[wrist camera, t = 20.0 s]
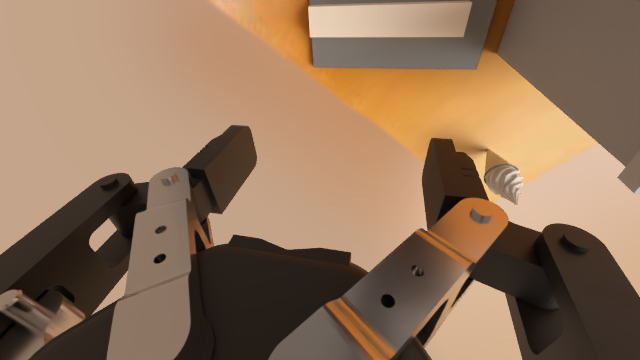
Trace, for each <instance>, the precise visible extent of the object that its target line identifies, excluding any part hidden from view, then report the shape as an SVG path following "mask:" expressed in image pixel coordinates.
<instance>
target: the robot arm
mask: <svg viewBox="0 0 640 360" xmlns="http://www.w3.org/2000/svg"><path fill="white" fill-rule="evenodd" d="M256 161H257V155H256V150H255V146H254V142H253V138H252V133H251V130H250V128H249V127H248V126H239V125H231V126H230V127H229V128H228V129H227V130H226V131H225V132H224V133H223V134H222V135H220V136H218V137H216V138H214V139H213V140H211V141H210V142H209V143H208V144H207V145H206V146H205V147H204V148H203V149H202V150H200V152H199V153H197V154H196V155H195V156H194V157H193V158H192V159H191V160H190V161H189V162H188V163H187V164H186V165H185V166H183V167H182V168H180V167H175V168H169V169H166V170H163V171H161V172H159V173H157V174H156V175H154V176H153V177H152V178H151V180H150V181H149V182H145V183H136V184H134V182H133V181H132V179H131V177H130V176H129V175H128V174H125V173H117V174H112V175H108V176H106V177H103V178H101V179H99V180H98V181H96V182H95V183H93V184H92V185H91V186H89V187H88V188H87V189H85V190H84V191H83V192H81V193H80V194H79V195H78V196H77V197H75V198H74V199H72V200H71V201H70V202H68V203H67V204H66V205H65V206H63V207H62V208H61V209H59V210H58V211H57V212H55V213H54V214H53V215H52V216H50V217H49V218H48V219H46V220H45V221H44V222H42V223H41V224H40V225H39V226H37V227H36V228H35V229H33V230H32V231H31V232H29V233H28V234H27V235H26V236H24V237H23V238H22V239H20V240H19V241H18V242H16V243H15V244H14V245H13V246H11V247H10V248H9V249H8V250H6V251H5V252H3V253H2V254H1V255H0V360H432V359H431V358H430V356H429V355H428V354H427V352H426V350H425V349H424V348H425V347H426V345H427V344H428V343H429V341H430V340H431V339H432V338H433V336H434V335H435V334H436V332H437V331H438V329H439V328H440V326H441V325H442V323H443V322H444V320H445V319H446V317H447V316H448V315H449V313H450V312H451V311H452V310H453V308H454V307H455V306H456V304H457V303H458V302H459V301H460V299H461V298H462V297H463V296H464V294H465V293H466V291H467V290H468V289H469V288H470V287H471V285H472V284H473V283H474V282H475V280H476V281H478V282H481V283H483V284H486V285H488V286H490V287H493V288H495V289H497V290H500V291H502V292H504V293H505V295H506V298H507V302H508V306H509V310H510V313H511V317H512V321H513V325H514V329H515V333H516V336H517V340H518V344H519V348H520V351H521V355H522V359H523V360H640V297H639V295H638V294H637V293H636V291H635V289H634V288H633V286H632V285H631V284H630V282H629V281H628V279H627V277H626V276H625V274H624V273H623V271H622V270H621V268H620V267H619V265H618V264H617V262H616V261H615V259H614V258H613V256H612V255H611V253H610V252H609V250H608V249H607V247H606V246H605V245H604V244H603V243H602V242H601V241H600V240H599V239H597V238H596V237H595V236H593V235H592V234H590V233H588V232H587V231H584V230H582V229H580V228H577V227H575V226H571V225H566V224H550V225H548V226H546V227H545V228H544V230H543V231H542V232H538V231H535V230H532V229H529V228H525V227H523V226H519V225H517V224H514V223H512V222H510V221H508V216H507V214H506V213H505V212H504V210H503V209H501V208H500V207H499V206H498V205H496V204H494V203H492V202H490V201H489V199H488V197H487V194H486V192H485V189H484V187H483V184H482V182H481V179H480V178H479V174H478V172H477V171H476V166H475V164H474V161H473V160H472V159H471V158H470V157H469V156H468V155H467V154H465V153H464V152H456V150H455V147H454V144H453V141H452V139H439V138H432V139H431V140H430V144H429V148H428V152H427V156H426V160H425V165H424V169H423V175H422V187H423V195H424V203H425V212H426V221H427V228H428V231H425V230H424V229H422V228H421V229H418V230H417V231H415V232H414V233H413V234H412V235H411V236H410V237H409V238H407V239H406V240H405V241H404V242H403V243H402V244H400V245H399V246H398V247H397V248H396V249H395V250H394V251H393V252H391V253H390V254H389V255H388V256H387V257H386V258H385V259H383V260H382V261H381V262H380V263H379V264H378V265H377V266H376V267H374V268H373V269H372V270H371V271H370V272H367V271H366V270H364V269H363V268H361V267H359V266H358V265H355V264H353V263H351V253H350V252H344V251H337V250H331V249H324V248H311V249H294V250H287V249H284V248H281V247H279V246H277V245H274V244H272V243H269V242H267V241H265V240H263V239H259V238H253V237H246V236H239V235H233V237H232V239H231V240H230V242H229V243H228V244H222V245H217V246H214V243H213V238H212V232H211V226H210V221H209V218H208V215H209V213H218V214H222V213H223V211H224V210H225V209H226V207H227V206H228V204H229V203H230V202H231V200H232V199H233V197H234V196H235V194H236V193H237V192H238V190H239V189H240V187H241V186H242V185H243V183H244V182H245V180H246V179H247V177H248V176H249V175H250V173H251V172H252V170H253V169H254V167H255V165H256ZM108 218H109V219H110V220H111V222H112V223H113V224H114V225H115V227H116V228H117V229H118V230H117V231H116V232H115V233H114V234H113V235H112V236H111V237H110V238H109V239H108V240H107V241H106V242H105V243H104V244H103V245H102V246H101V247H100V248H99V249H98V250H97V251H96V252H94V251H93V250H92V248H91V247H90V245H89V239H90V236H91V235H92V233H93V232H94V231H95V230H96V229H97V228H98V227H100V226H101V225H102V224H103V223H104V222H105V221H106V220H107V219H108ZM127 271H128V275H127V282H126V289H125V294H124V296H123V297H122V298H120V299H118V300H117V301H115V302H114V303H112V304H110V305H108V306H107V307H105V308H103V309H102V310H100V311H98V312H96V313H95V314H93V315H92V313H93V312H94V311H95V310H96V309H97V307H98V306H99V305H100V303H101V302H102V301H103V300H104V299H105V298H106V296H107V295H108V294H109V292H110V291H111V290H112V289H113V288H114V286H115V285H116V284H117V283H118V282H119V280H120V279H121V278H122V277H123V275H124V274H125V273H126V272H127Z"/></svg>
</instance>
